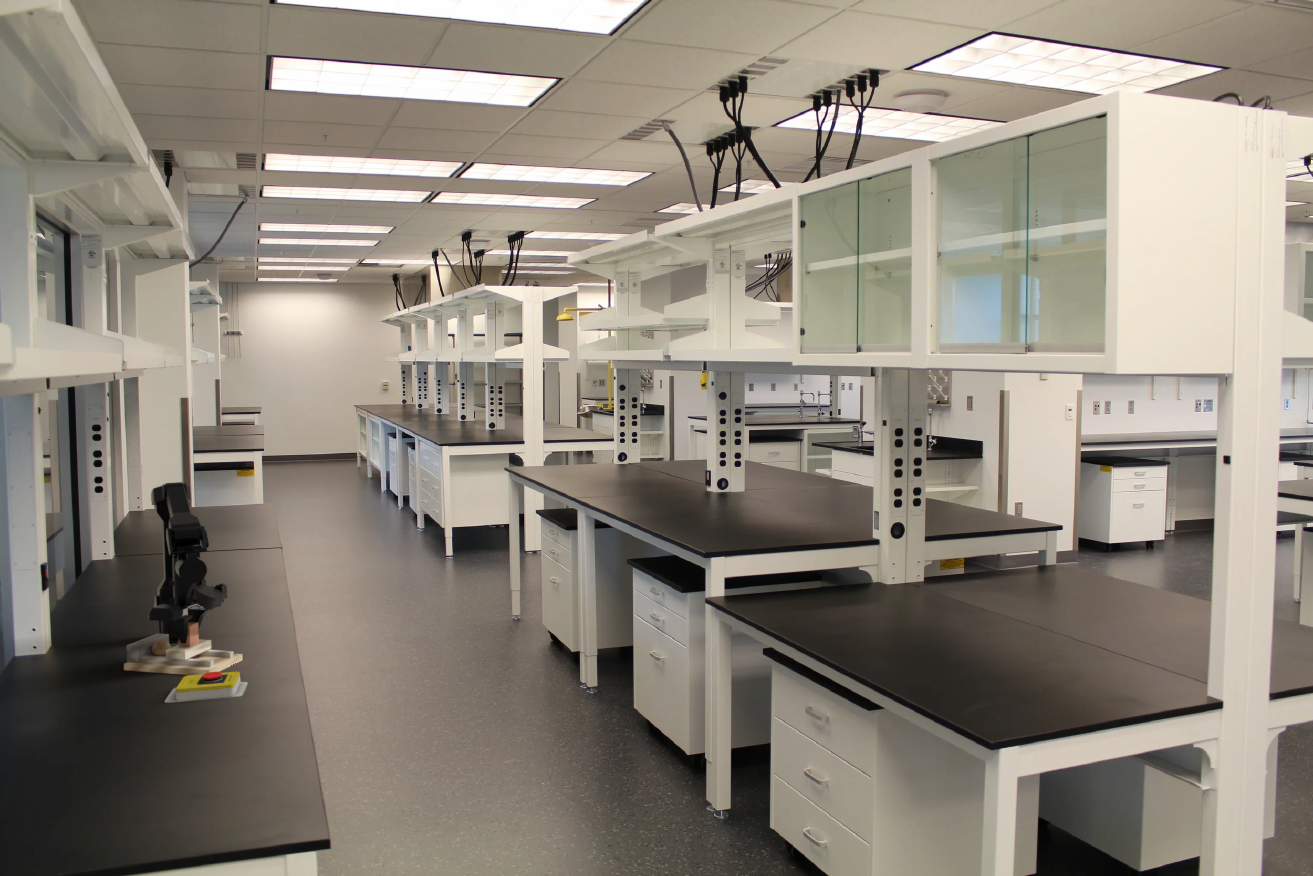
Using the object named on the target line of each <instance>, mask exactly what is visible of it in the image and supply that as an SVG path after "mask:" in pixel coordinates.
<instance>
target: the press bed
mask: <svg viewBox="0 0 1313 876" xmlns="http://www.w3.org/2000/svg"><path fill="white" fill-rule="evenodd" d="M160 640H165V641H167V642H169V634H159V632H158V633H156V634H153V635H151V636H148V637H145V638H142V639H140V640H137V641H135V642H132V643H129V644H127V645H126V662H125V663H123V670H124V671H130V672H144V673H156V674H157V673H159V674H170V675H185V676H188V675H200V674H205V673H209V672H222V671H224V670H226V669H227V668H229V667H231V665H232V666H234V665H235V663H236V664H238V663H240V662H242V661H244V660H243V653H234V651H233V650H219V649H209V650H206V651H204V652H202V653H200V654H197V655H195V656H193V657H191V658H188V659H186V660H180V659H166V656H165V657H160V656H154V655H153V653H152V646H153V645H154V644H155V643H156V642H157V641H160ZM169 643H170V642H169ZM172 647H173V646H171V648H172ZM233 664H234V665H233Z"/></svg>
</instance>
